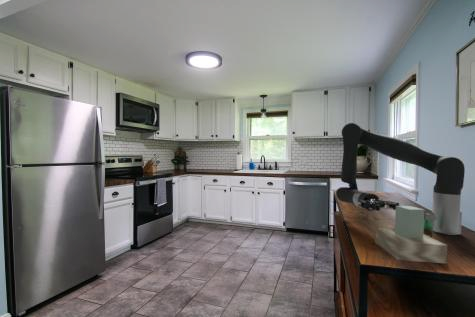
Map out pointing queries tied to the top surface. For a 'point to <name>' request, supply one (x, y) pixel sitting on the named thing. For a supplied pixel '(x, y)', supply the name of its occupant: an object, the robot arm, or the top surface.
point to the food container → (429, 222)
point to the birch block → (411, 247)
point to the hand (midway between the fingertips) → (390, 208)
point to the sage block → (409, 222)
